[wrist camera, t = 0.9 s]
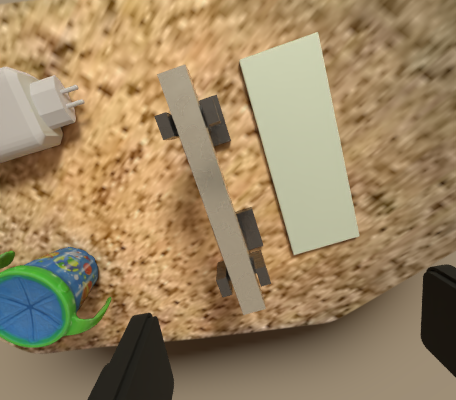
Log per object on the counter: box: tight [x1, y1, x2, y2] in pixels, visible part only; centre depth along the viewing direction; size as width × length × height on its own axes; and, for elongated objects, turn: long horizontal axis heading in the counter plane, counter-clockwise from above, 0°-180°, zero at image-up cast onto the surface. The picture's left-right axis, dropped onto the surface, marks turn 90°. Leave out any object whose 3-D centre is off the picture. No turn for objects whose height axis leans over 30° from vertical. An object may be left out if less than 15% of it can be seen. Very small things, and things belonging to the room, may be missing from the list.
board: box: [239, 32, 359, 255], centre depth 34 cm, size 10×28×1 cm, turn 18°
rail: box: [157, 65, 266, 315], centre depth 24 cm, size 2×24×2 cm, turn 18°
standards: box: [155, 95, 271, 297], centre depth 29 cm, size 6×22×14 cm, turn 18°
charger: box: [0, 67, 84, 163], centre depth 31 cm, size 5×9×15 cm
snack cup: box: [0, 247, 111, 347], centre depth 34 cm, size 16×10×10 cm
